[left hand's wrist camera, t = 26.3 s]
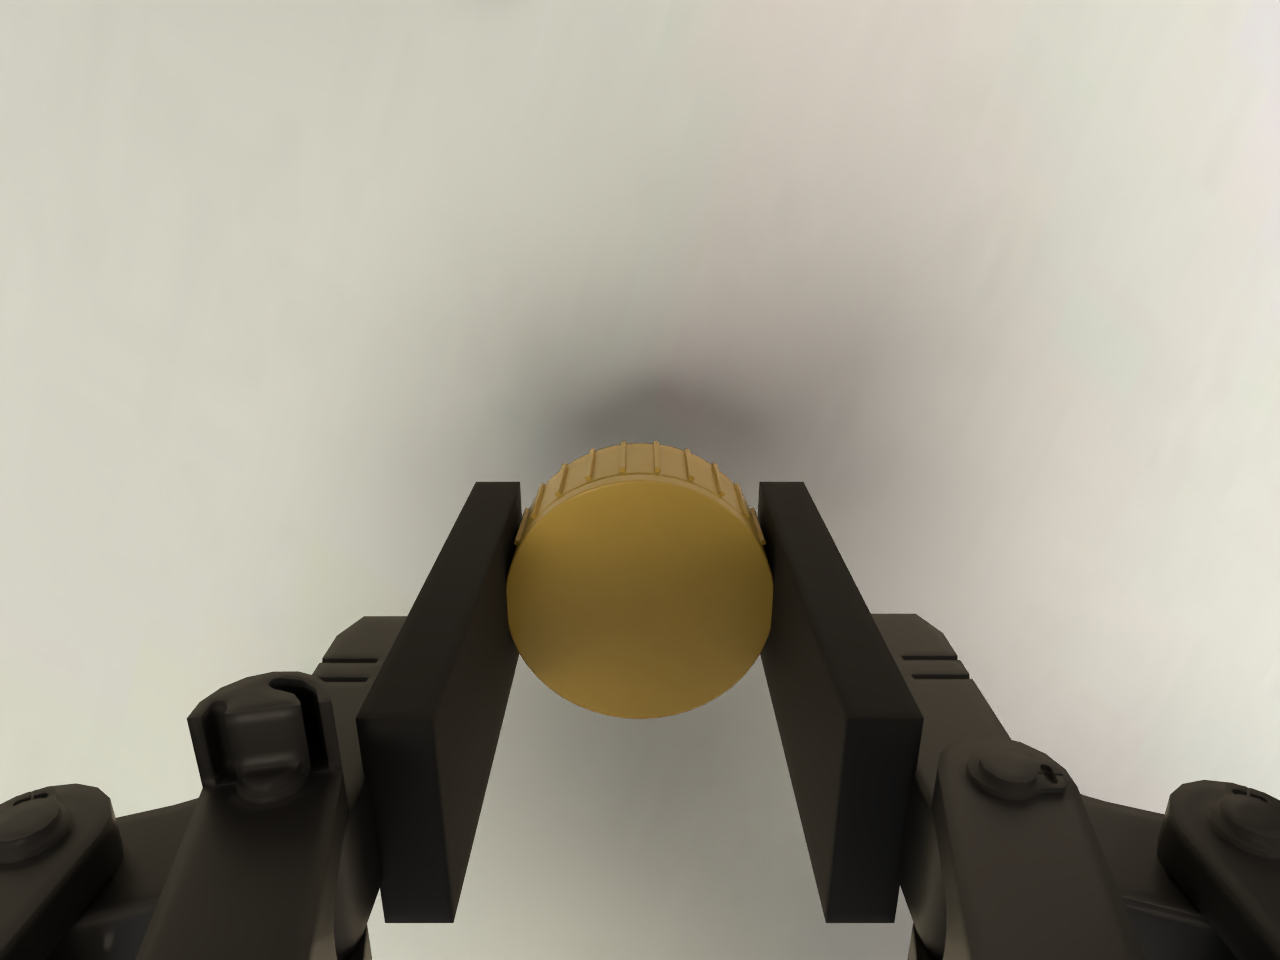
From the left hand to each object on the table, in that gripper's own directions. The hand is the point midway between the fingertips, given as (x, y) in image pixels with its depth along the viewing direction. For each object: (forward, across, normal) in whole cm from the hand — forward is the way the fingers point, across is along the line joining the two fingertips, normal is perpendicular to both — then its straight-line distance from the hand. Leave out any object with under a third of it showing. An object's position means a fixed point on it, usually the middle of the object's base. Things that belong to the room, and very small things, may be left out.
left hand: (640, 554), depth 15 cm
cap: (-2, 0, 0) cm, 2 cm away
